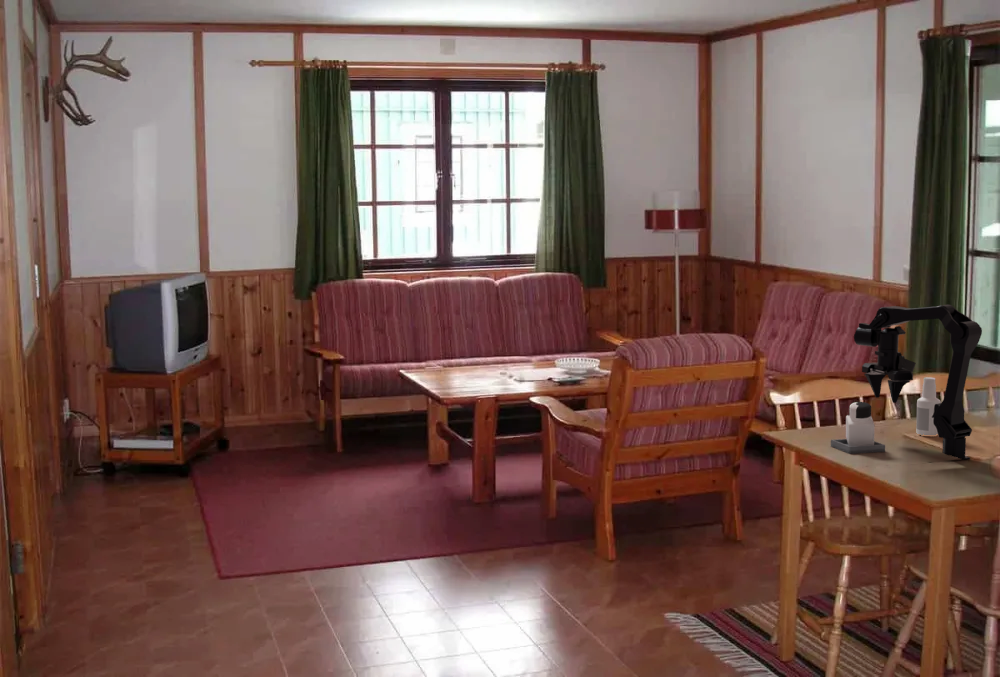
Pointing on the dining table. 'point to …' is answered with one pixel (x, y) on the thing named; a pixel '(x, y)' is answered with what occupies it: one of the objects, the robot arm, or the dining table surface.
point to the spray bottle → (927, 408)
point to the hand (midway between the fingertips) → (885, 400)
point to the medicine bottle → (860, 425)
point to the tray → (857, 447)
